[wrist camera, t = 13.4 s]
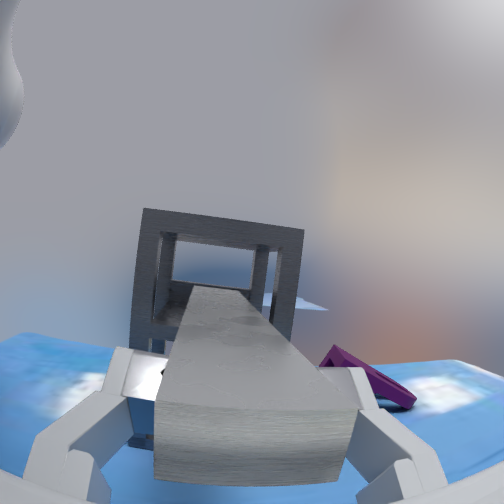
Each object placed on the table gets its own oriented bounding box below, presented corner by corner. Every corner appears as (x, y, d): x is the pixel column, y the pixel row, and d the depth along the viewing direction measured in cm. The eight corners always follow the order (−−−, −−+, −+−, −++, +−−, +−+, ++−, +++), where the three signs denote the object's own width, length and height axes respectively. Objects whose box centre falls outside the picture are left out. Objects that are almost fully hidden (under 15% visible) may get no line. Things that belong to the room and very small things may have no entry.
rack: (127, 448, 29) (142, 207, 30) (151, 385, 48) (166, 225, 49) (270, 461, 31) (306, 229, 32) (247, 395, 50) (268, 239, 51)
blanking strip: (154, 478, 5) (154, 399, 5) (191, 307, 29) (194, 285, 29) (337, 480, 6) (359, 408, 6) (235, 312, 30) (237, 290, 30)
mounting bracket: (379, 421, 54) (307, 381, 55) (405, 387, 54) (333, 344, 55) (394, 443, 44) (313, 402, 46) (424, 405, 44) (345, 358, 46)
